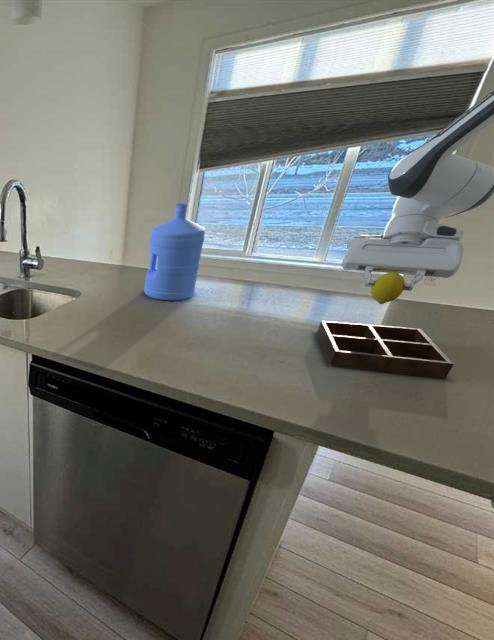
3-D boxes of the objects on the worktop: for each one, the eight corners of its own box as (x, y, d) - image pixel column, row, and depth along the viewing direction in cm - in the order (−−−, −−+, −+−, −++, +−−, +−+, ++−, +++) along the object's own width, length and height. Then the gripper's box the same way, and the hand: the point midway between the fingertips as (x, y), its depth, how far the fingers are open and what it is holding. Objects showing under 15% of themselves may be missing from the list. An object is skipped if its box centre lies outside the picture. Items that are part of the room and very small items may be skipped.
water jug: (200, 290, 136) (217, 200, 122) (184, 304, 127) (201, 208, 113) (154, 284, 146) (165, 200, 132) (136, 297, 136) (146, 207, 122)
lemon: (375, 299, 102) (389, 267, 98) (401, 305, 97) (416, 272, 93) (360, 303, 101) (372, 271, 97) (385, 309, 96) (399, 276, 92)
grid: (413, 342, 94) (420, 328, 92) (445, 379, 80) (454, 363, 79) (316, 333, 102) (320, 320, 100) (329, 365, 88) (335, 351, 87)
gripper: (353, 227, 101) (334, 275, 100) (474, 230, 89) (454, 286, 88) (349, 241, 106) (331, 288, 105) (463, 247, 94) (444, 300, 93)
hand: (388, 287), depth 96 cm, fingers closed on lemon, 5 cm apart
